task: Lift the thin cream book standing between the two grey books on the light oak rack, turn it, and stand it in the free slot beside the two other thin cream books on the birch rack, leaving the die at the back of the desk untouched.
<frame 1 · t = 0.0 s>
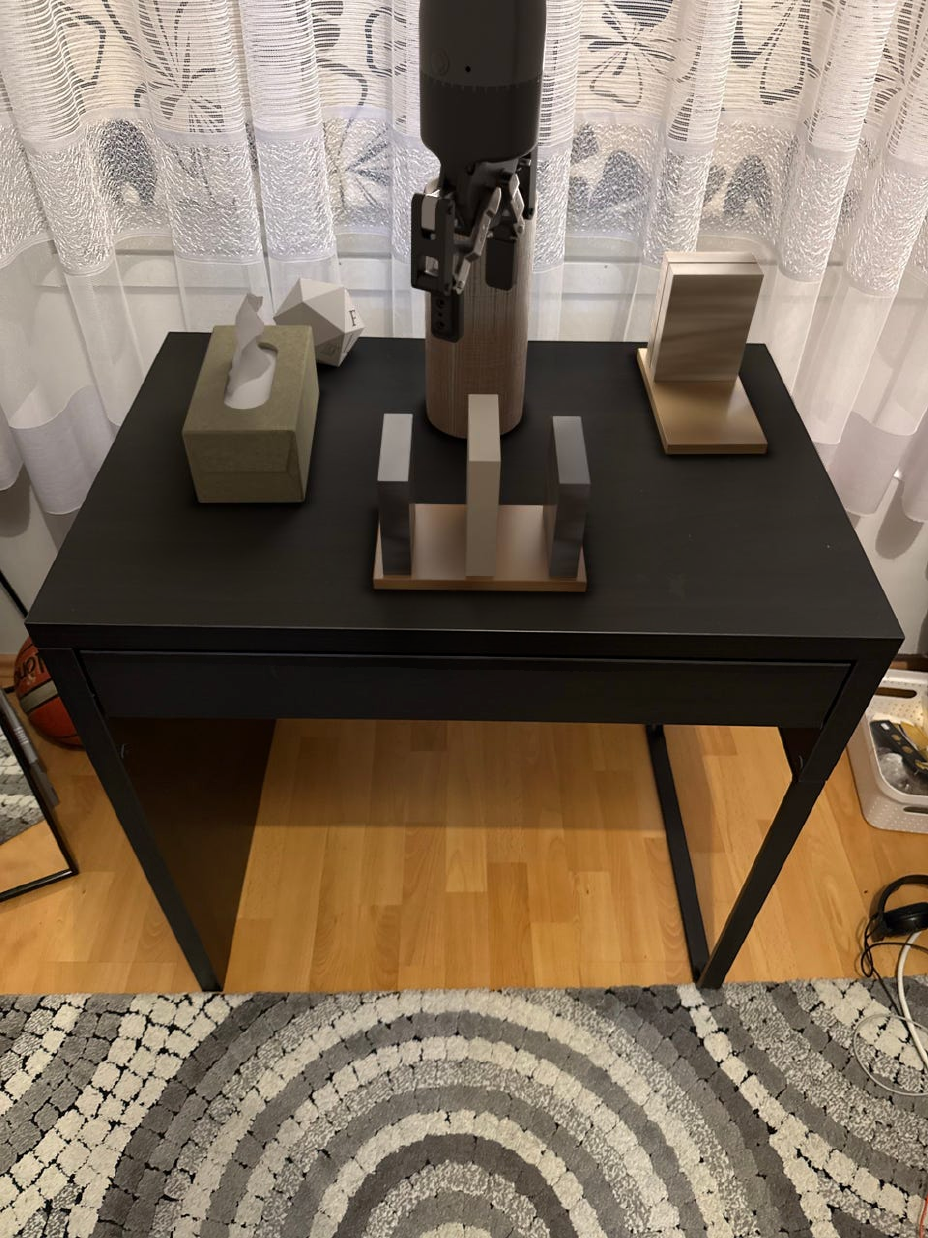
hand: (474, 311, 67), 22 cm above the table, tool pointing down, fingers open, 8 cm apart
grey book rack: (479, 550, 82), on the table
die: (323, 356, 104), on the table
cream book: (479, 540, 82), point 1 cm above the table, touching grey book rack
tissue box: (263, 446, 93), on the table
planter: (474, 414, 97), on the table
cream book rack: (685, 372, 103), on the table
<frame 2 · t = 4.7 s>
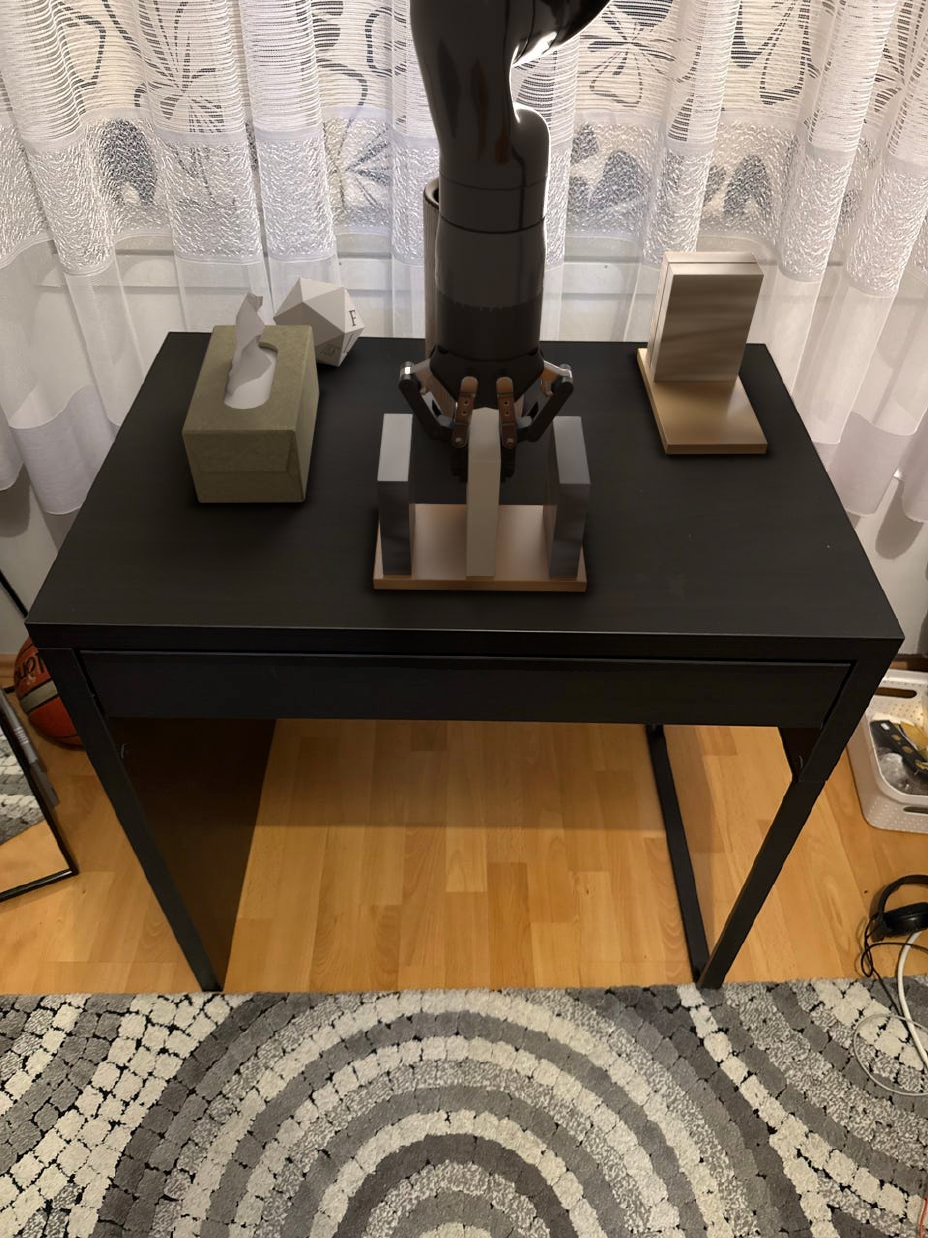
hand: (482, 476, 76), 8 cm above the table, tool pointing down, fingers closed on cream book, 2 cm apart
cream book: (479, 540, 82), point 1 cm above the table, touching grey book rack, gripper
everything else where it was.
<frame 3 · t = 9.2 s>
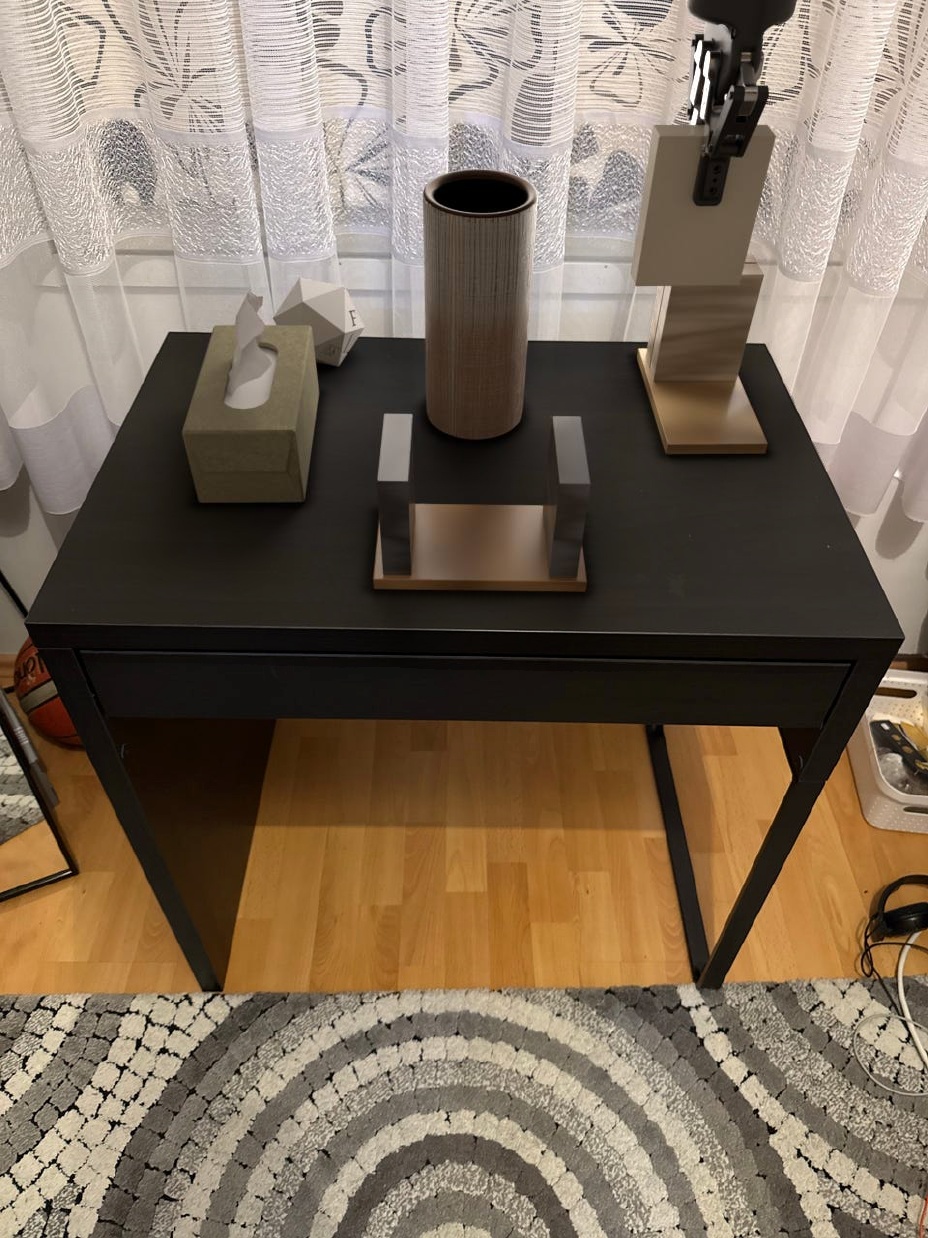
hand: (701, 195, 75), 25 cm above the table, tool pointing down, fingers closed on cream book, 2 cm apart
cream book: (684, 279, 80), point 18 cm above the table, touching gripper
everything else where it was.
when the fingers open (8 cm above the table, at t = 13.9 s): cream book stays where it is, resting on cream book rack.
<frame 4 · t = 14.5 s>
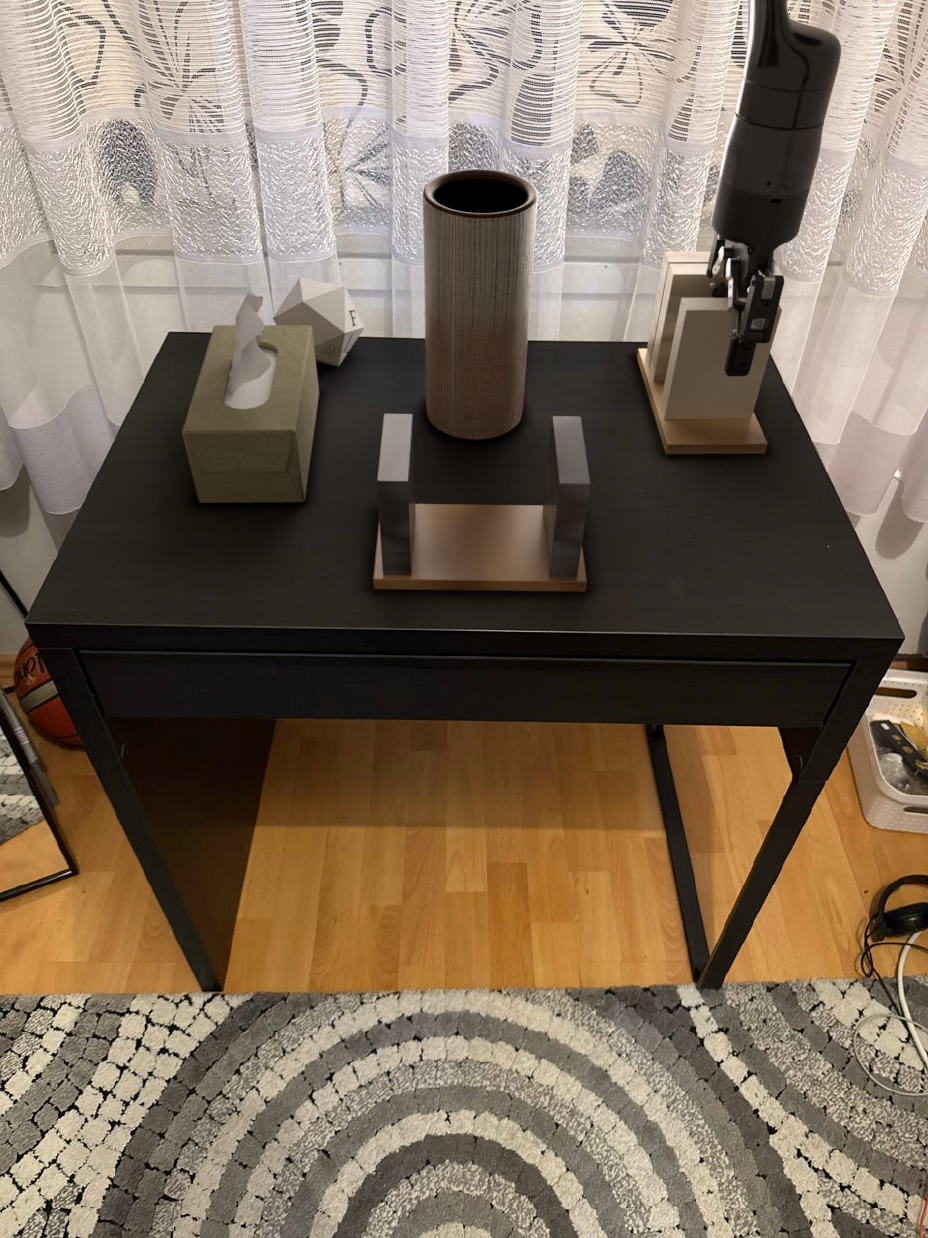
hand: (725, 351, 89), 9 cm above the table, tool pointing down, fingers open, 8 cm apart
cream book: (705, 412, 96), point 1 cm above the table, touching cream book rack
everything else where it was.
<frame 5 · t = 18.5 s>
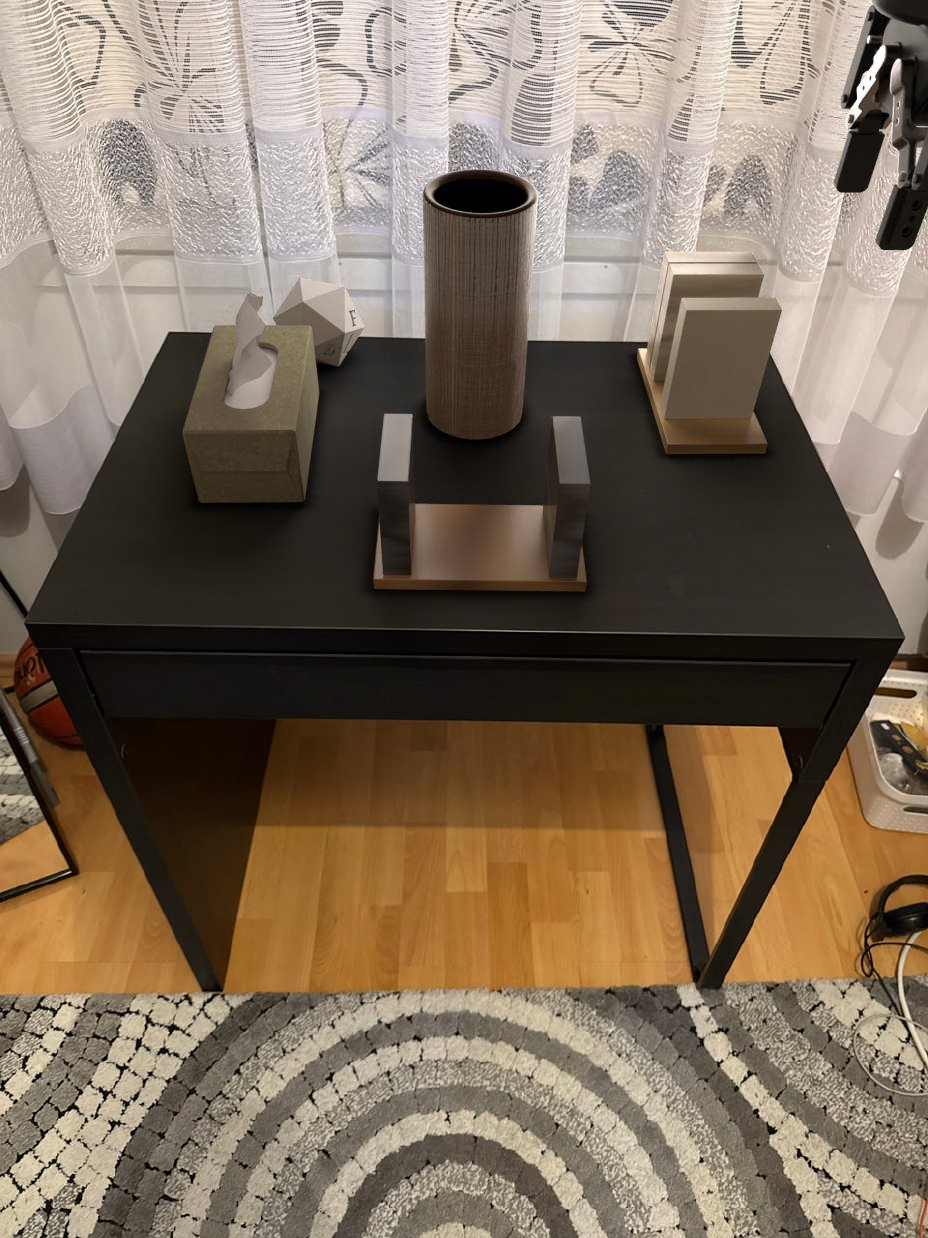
hand: (869, 217, 61), 30 cm above the table, tool pointing down, fingers open, 8 cm apart
nothing on the table moved.
at the end: cream book 0.1 cm from the target spot on the cream book rack, point 1.2 cm above the cream book rack's base; cream book tilted 0°; die moved 0.2 cm from its start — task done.
